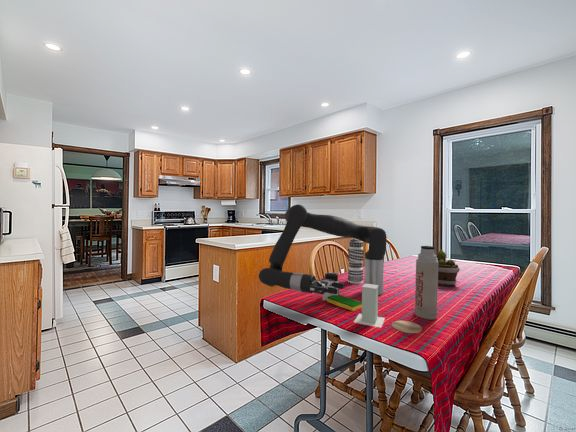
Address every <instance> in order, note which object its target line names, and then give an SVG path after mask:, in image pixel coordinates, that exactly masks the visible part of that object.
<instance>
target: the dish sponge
mask: <svg viewBox="0 0 576 432" xmlns="http://www.w3.org/2000/svg"><path fill="white" fill-rule="evenodd" d="M326 302H327V303H329V304H332V305H335V306H337V307H339V308H343V309H345V310H349V311H353V312H354V311H357V310H359V309H362V301H360V300H357V299H353V298H351V297H348V296H344V295H341V294H339V295H331V296H329V297H327V301H326Z"/></svg>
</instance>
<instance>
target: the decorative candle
mask: <svg viewBox="0 0 576 432" xmlns="http://www.w3.org/2000/svg"><path fill="white" fill-rule="evenodd" d="M348 242H349V245H348V249H347V251H348V252H347V258H348V259H347V260H348V261H347V262H348V269H347V273H348V274H347V282H348V283H349V282H350V284H356V285H357V284H358V285H359V284H364V281H363V280H364V278H363V277H364V273H363V272H364V270H363V263H364V259H365V256H363V255H365V249H364V245H363V243H364V242H363V241H361V240H358V239H355V238H351V239H350V240H348Z"/></svg>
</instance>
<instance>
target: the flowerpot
mask: <svg viewBox="0 0 576 432" xmlns="http://www.w3.org/2000/svg"><path fill="white" fill-rule="evenodd" d="M435 255H436V256H437V259H436V260H437V261H438V286H443V287H453V286H455V285H456V284H457V277H458V273H459V272H460V267H459V265H458V264H456V261H455V260H454V259H452V257H451V258H449V259H448V256H447V253H446V252H445V251H444V250H443V249H440V250H438V251H437V252H436V253H435Z"/></svg>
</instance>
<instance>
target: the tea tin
mask: <svg viewBox="0 0 576 432" xmlns="http://www.w3.org/2000/svg"><path fill="white" fill-rule="evenodd" d="M378 287H379V285H373V284H366V283H365V284H364V283H363V285H362V286H361V302H362V307H361V314H362V321H363V322H369V323H374V324H375V323H376V321H377V318H378V317H379V315H378V312H379V311H378V310H379V306H378V305H379V295H378Z"/></svg>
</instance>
